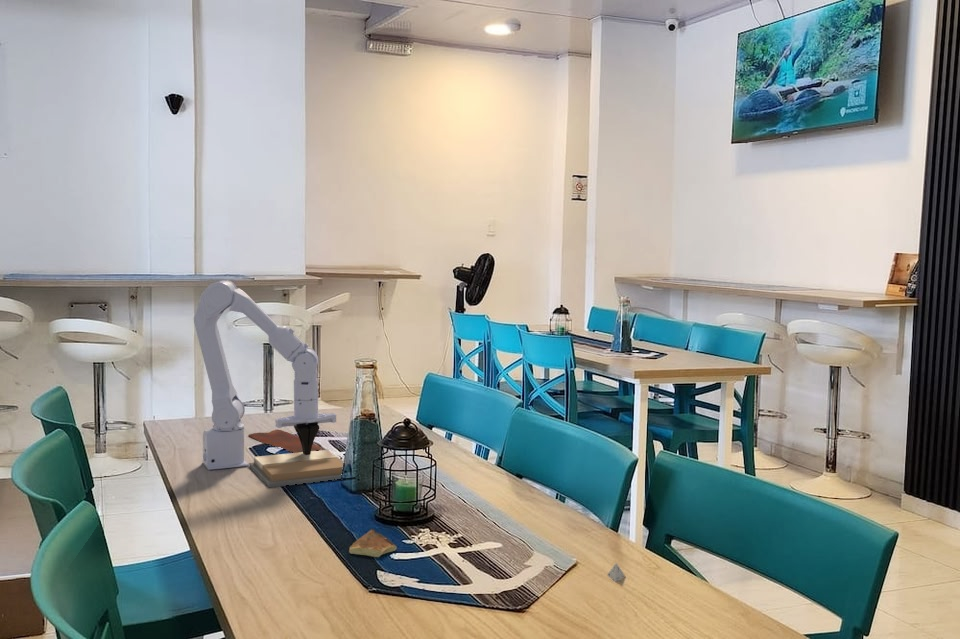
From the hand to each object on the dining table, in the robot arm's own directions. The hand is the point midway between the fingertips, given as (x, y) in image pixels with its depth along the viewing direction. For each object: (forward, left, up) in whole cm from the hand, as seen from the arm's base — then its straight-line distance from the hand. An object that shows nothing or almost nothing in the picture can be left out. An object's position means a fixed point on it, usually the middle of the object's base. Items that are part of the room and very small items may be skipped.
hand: (306, 453), depth 214 cm
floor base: (-3, -6, -2) cm, 8 cm away
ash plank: (-3, -2, -1) cm, 4 cm away
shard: (-6, -59, -3) cm, 60 cm away
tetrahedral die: (+26, -89, -3) cm, 93 cm away
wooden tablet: (+1, +23, -3) cm, 23 cm away
